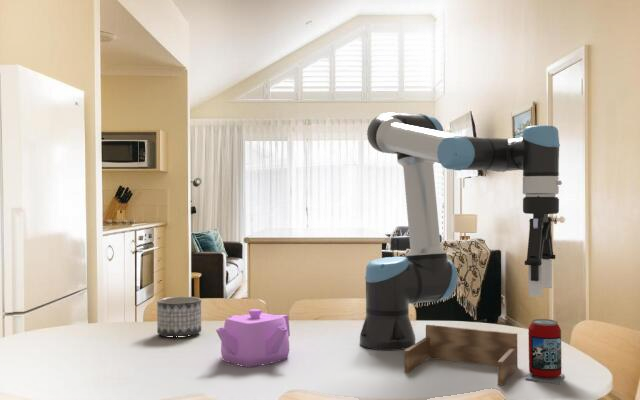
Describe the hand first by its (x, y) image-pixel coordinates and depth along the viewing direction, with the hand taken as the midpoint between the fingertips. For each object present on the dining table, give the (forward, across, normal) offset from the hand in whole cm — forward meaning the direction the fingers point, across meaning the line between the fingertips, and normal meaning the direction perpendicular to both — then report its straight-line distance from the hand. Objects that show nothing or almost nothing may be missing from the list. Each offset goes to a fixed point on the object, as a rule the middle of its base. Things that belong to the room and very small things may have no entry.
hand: (540, 291), depth 136 cm
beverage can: (+19, -1, -1) cm, 19 cm away
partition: (+19, -3, +17) cm, 26 cm away
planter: (+20, -4, +101) cm, 103 cm away
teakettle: (+20, -17, +65) cm, 70 cm away
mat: (+19, -1, -1) cm, 19 cm away
